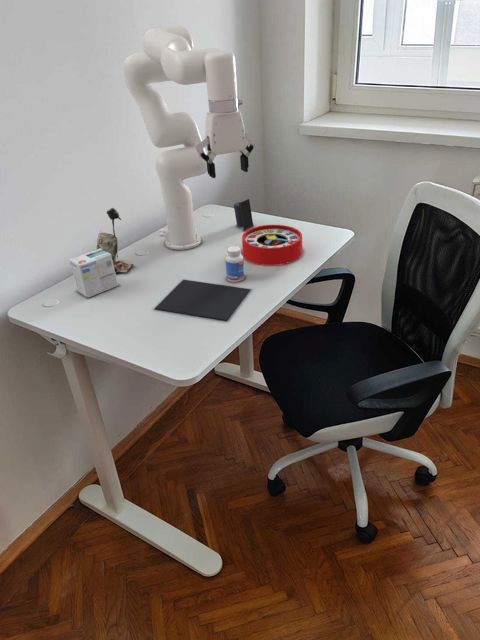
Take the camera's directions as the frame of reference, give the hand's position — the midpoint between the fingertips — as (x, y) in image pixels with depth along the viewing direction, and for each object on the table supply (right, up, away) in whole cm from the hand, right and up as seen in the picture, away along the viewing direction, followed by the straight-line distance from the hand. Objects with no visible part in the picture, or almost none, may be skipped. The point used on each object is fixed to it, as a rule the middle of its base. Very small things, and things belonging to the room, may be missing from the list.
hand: (228, 173), depth 144 cm
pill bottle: (+1, -27, +18) cm, 32 cm away
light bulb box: (-41, -30, +15) cm, 53 cm away
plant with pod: (-38, -23, +25) cm, 51 cm away
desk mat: (-8, -34, +7) cm, 36 cm away
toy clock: (+13, -16, +32) cm, 38 cm away
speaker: (+2, -2, +52) cm, 52 cm away
